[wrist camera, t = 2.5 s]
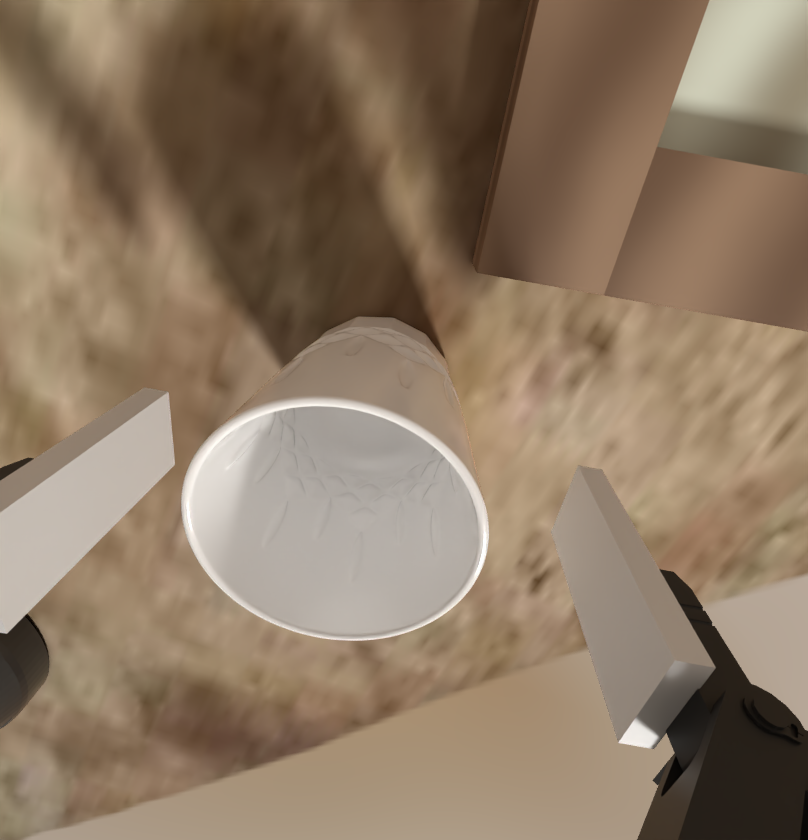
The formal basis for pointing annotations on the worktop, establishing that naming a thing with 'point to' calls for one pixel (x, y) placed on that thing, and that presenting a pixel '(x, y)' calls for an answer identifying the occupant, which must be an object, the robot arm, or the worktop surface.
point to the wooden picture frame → (658, 156)
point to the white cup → (343, 490)
